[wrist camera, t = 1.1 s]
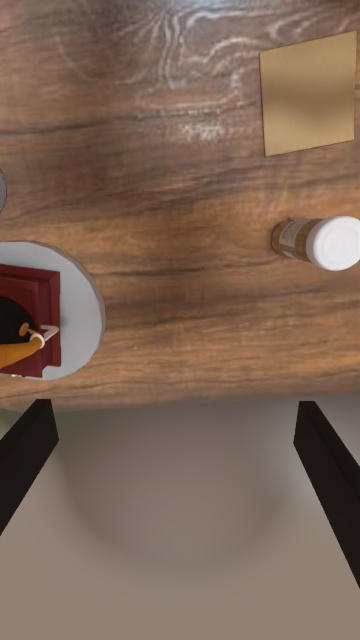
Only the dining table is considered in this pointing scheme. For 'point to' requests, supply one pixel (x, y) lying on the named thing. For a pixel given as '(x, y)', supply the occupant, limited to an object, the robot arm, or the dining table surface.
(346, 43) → the coaster
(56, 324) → the gramophone
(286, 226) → the sprinkles bottle
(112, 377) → the dining table surface
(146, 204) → the dining table surface
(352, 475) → the robot arm
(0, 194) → the grey cylinder
